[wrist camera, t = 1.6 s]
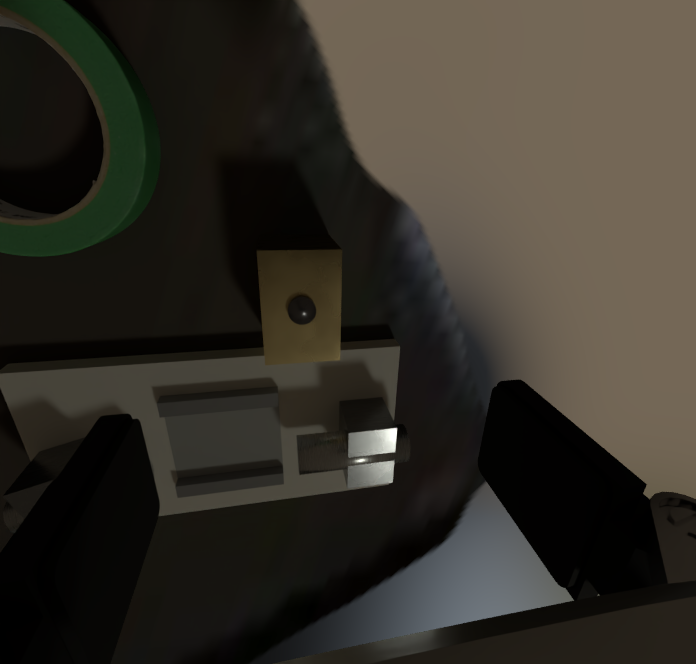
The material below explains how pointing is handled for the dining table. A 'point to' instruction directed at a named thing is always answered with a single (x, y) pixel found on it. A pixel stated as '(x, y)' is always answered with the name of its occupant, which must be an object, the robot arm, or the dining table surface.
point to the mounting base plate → (205, 414)
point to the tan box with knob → (300, 298)
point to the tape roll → (117, 128)
